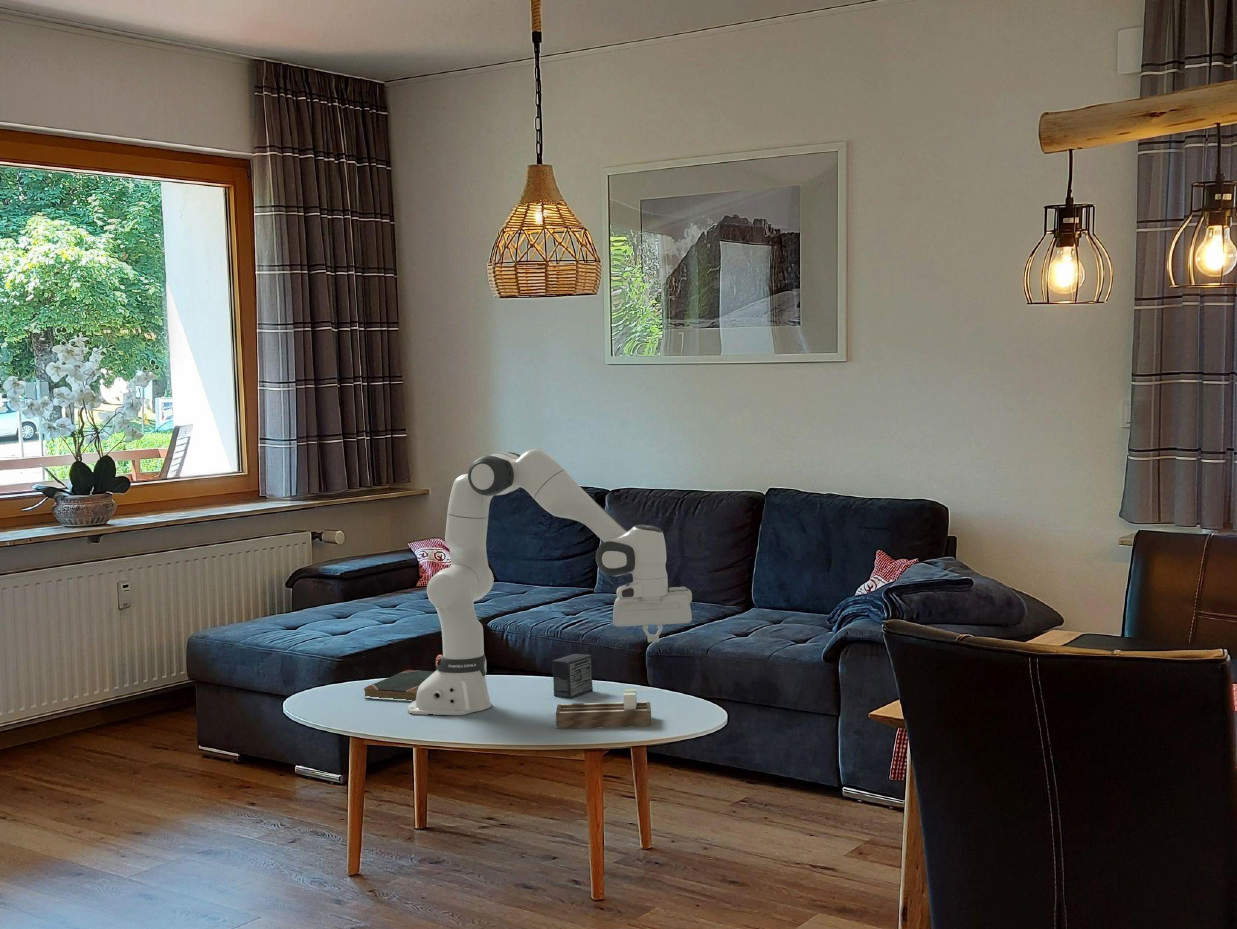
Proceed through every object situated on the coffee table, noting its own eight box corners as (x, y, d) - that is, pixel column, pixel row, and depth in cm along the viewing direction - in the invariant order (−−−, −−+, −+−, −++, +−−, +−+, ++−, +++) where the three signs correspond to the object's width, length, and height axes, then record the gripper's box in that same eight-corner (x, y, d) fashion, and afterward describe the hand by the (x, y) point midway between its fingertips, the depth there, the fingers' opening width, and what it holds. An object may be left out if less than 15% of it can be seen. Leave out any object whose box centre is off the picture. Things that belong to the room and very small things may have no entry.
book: (407, 681, 381) (362, 700, 358) (407, 669, 381) (362, 688, 358) (458, 684, 375) (416, 704, 352) (458, 672, 375) (416, 691, 352)
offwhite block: (624, 716, 320) (623, 695, 320) (624, 714, 323) (623, 692, 322) (636, 716, 320) (635, 694, 320) (635, 714, 323) (635, 692, 322)
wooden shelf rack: (556, 728, 319) (555, 712, 319) (558, 719, 328) (557, 703, 328) (651, 726, 319) (650, 709, 319) (650, 717, 328) (650, 701, 328)
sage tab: (625, 713, 324) (624, 691, 324) (625, 710, 327) (624, 689, 326) (636, 712, 324) (636, 691, 324) (636, 710, 327) (636, 688, 326)
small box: (575, 688, 363) (574, 652, 362) (593, 691, 359) (592, 654, 358) (552, 696, 354) (551, 659, 354) (570, 699, 350) (569, 661, 350)
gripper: (690, 584, 326) (693, 637, 327) (611, 588, 326) (614, 641, 327) (692, 587, 320) (694, 642, 320) (611, 592, 320) (614, 646, 321)
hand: (653, 641), depth 324 cm, fingers closed
